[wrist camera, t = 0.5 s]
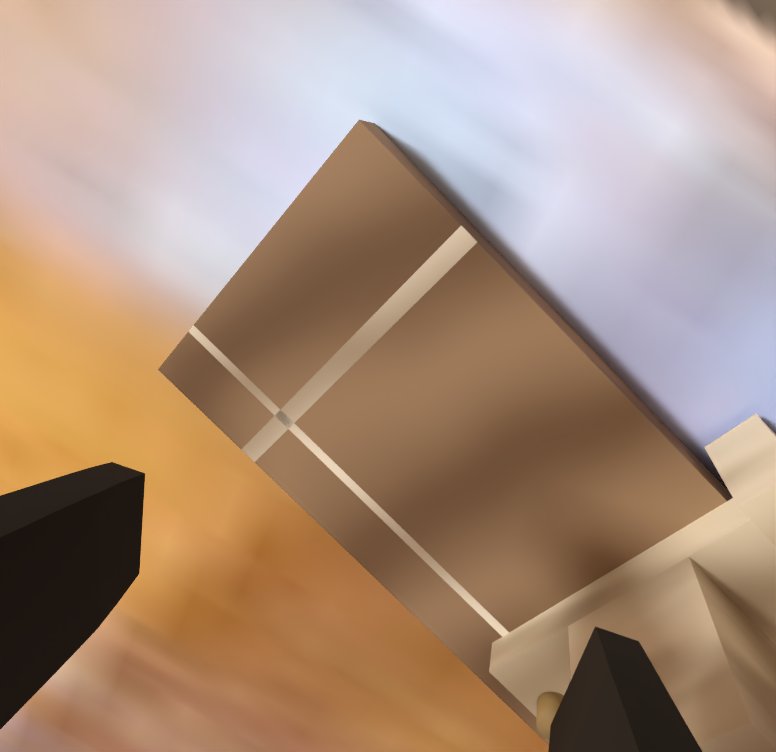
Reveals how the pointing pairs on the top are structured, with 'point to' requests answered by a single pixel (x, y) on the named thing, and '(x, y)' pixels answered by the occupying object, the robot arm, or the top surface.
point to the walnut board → (433, 407)
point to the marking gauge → (680, 612)
